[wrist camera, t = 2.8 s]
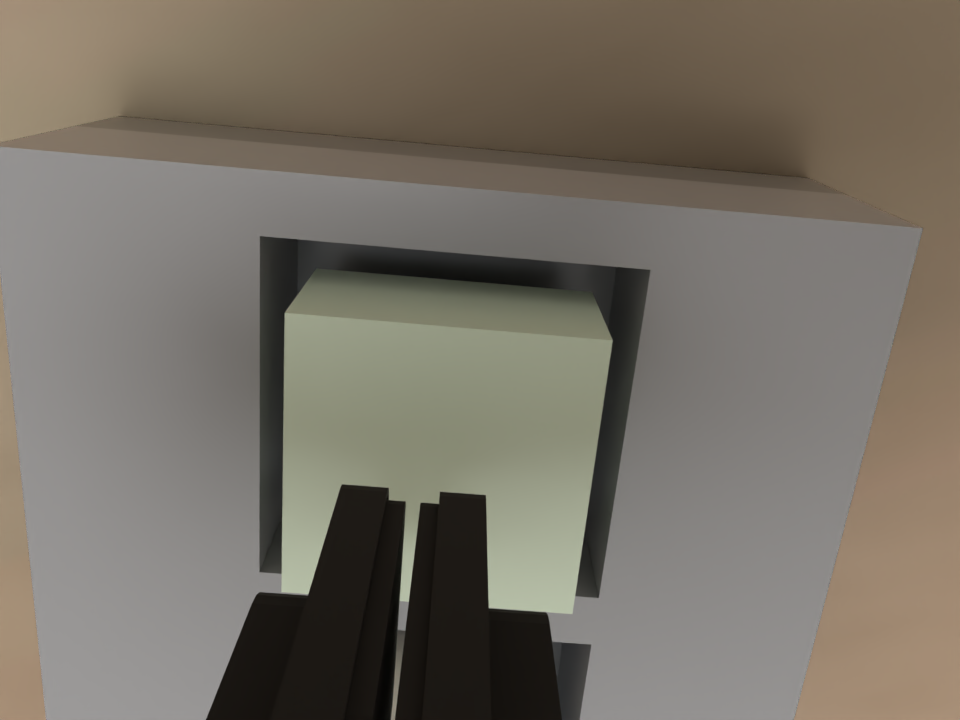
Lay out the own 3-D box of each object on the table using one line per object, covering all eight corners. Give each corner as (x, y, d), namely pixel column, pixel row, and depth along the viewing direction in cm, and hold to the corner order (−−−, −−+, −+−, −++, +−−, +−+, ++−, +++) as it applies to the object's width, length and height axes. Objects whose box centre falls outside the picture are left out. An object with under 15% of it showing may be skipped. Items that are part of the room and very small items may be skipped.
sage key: (591, 291, 15) (612, 340, 12) (559, 530, 16) (572, 613, 14) (316, 268, 15) (285, 312, 12) (310, 511, 16) (281, 591, 14)
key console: (808, 177, 18) (922, 228, 13) (645, 941, 26) (681, 1144, 21) (118, 116, 18) (-13, 145, 13) (160, 909, 25) (86, 1108, 21)
